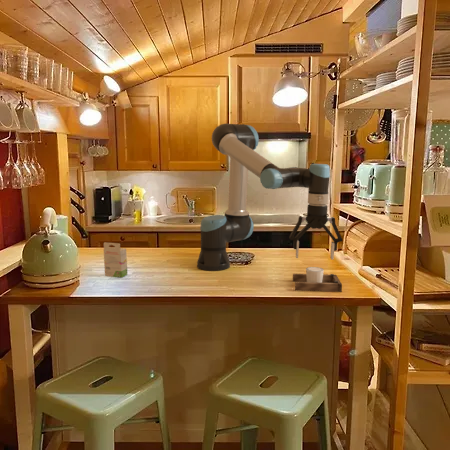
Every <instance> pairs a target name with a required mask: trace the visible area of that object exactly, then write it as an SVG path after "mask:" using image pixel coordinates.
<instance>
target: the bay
mask: <svg viewBox="0 0 450 450" xmlns="http://www.w3.org/2000/svg"><path fill="white" fill-rule="evenodd" d="M292 282H293V283H295V284H294V292H295V291H296V292H297V291H298V292H324V293H325V292H327V293H328V292H331V293H342V292H343V291H342V290H343V284H342V282H341V280H340V279H339V277H338V275H337V274H334V273H330V274H327V273H326V274H324V273H323V279H322V283H316V282H307V276H306V273H292Z"/></svg>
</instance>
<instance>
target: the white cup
mask: <svg viewBox="0 0 450 450" xmlns="http://www.w3.org/2000/svg"><path fill="white" fill-rule="evenodd" d="M305 271H306V273H305V274H306V276H307V282H316V283H323V282H322V279H323V274H324V272H325V269H323V268H322V267H318V266H309V267H306V268H305Z"/></svg>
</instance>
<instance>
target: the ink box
mask: <svg viewBox="0 0 450 450" xmlns="http://www.w3.org/2000/svg"><path fill="white" fill-rule="evenodd" d="M103 262H104V276H105V277H110V278H114V277H115V278H124V277H126V276H127V275H128V256H127V248H124V247H123V248H122V247H121V243H120V242H119V243H118V242H103Z"/></svg>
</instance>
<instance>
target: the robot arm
mask: <svg viewBox="0 0 450 450" xmlns="http://www.w3.org/2000/svg"><path fill="white" fill-rule="evenodd" d="M259 138H260V137H259V133H258V132H257V130H256V129H255V127H254V126H252V125H250V124H244V123H243V124H241V123H240V124H239V123H221V124H219V125H217V126H216V127H215V128H214V129H213V131H212V135H211V142H212V145H213V147H214V148H215V149H216V150H217V151H218V152H219V153H221V154H222V155H225V156H226V155H227V156H228V157H229V160H230V161H229V177H228V179H229V182H228V185H229V186H228V201H227V203H228V205H227V210H225V211H224V214H215V215H214V214H212V215H207V216H205V217H203V218H201V220H200V251H199V252H200V253H199V255H198V258H197V261H196V267H197V268H198V269H199V270H203V271H209V272H210V271H211V272H212V271H217V272H218V271H225V270H227V269H229V268H230V267H231V262H230V258H229V256H228V252H227V243H231V242H236V241H243V240H246V239H248V238H250V237H251V235H252V234H253V233H254V227H255V226H254V221H253V219H252V217H251V216H250V212H249V211H248V210H247V202H248V201H247V199H248V185H249V183H248V182H249V172H251V173H252V174H253V175H255V176H256V177H257V178H259V180H260V183H261V185H262V187H263V188H265V189H270V190H277V189H285V188H286V189H287V188H305V189H308V193H307V206H306V207H307V209H306V216H302V215H298V220H297V223H296V224H295V225H294V227H293V229H292V230H291V233H290V234H289V237H288V238H289V240H291V241H293V244H292V245H293V246H292V247H293V250H295V258H296V259H299V250H300V248H299V247H300V241H299V239H301V237H302V236H304V235H305V233H306V232H308V230H310V228H311V229H313V230H314V229H318V230H320V229H323V230H324V231H325V232H326V233H327V235H328V236H329V238H330V239H331V240H332V241H331V242H330V244H331V245H330V259H331V260H333V261H334V258H335V255H334V254H335V252H336V251H337V250H338V243H340V242H343V238H342V236H341V233H340V231H339V228H338V226H337V223H336V218H335V217H334V216H330V217H328V207H329V206H328V204H329V203H328V202H329V184H330V177H331V174H330V171H331V170H330V165H329V164H326V163H310V164H309V168H306V167H305V168H304V167H296V166H295V167H294V166H293V167H287V168H286V167H285V168H284V167H283V168H280V167H279V166H277V165H275V164H274V163H273V162H271V160H268V159H266V158H265V157H264V156H262V155H261V154H260V153H258V152H257V151H255V150H256V149H257V147H258V145H259V142H260V139H259ZM304 222H306V224H305V225H304V227H303V228H302V229H301V230H300V231H299V232H298V230H299V228H300V227H301V225H302V223H304ZM328 222H329V223H330V224H331V225H332V226H331V227H332V228H333V231H334V233H335V235H336V237H337V238H336V237H335V236H334V234H333V233H332V231H330V229H329V228H328V227H327V226H326V224H327V223H328Z"/></svg>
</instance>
